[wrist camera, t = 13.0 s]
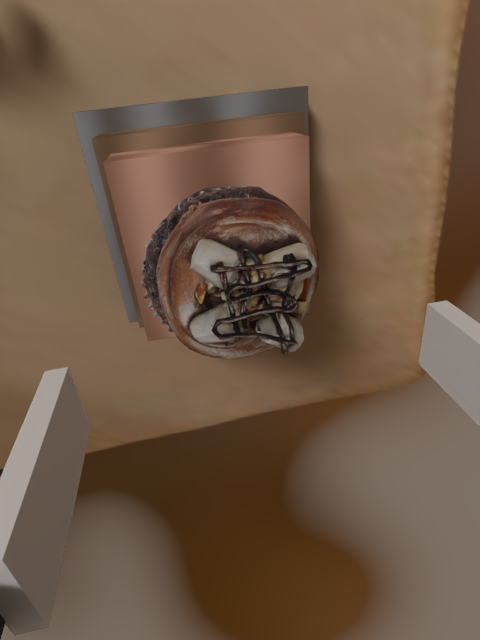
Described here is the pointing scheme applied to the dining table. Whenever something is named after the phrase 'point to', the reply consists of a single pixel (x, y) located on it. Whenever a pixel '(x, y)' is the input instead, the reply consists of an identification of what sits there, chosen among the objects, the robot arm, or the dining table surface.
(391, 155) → the dining table surface
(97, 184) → the stepped pyramid block
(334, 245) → the dining table surface
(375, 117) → the dining table surface
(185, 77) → the dining table surface
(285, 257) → the cupcake
